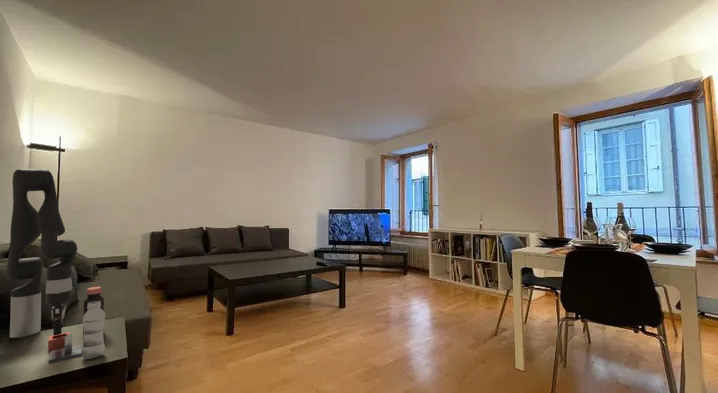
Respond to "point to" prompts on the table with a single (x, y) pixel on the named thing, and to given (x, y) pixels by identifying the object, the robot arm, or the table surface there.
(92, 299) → the vinegar
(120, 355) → the table surface
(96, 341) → the plastic bottle
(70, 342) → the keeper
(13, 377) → the table surface
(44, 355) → the table surface
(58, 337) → the link
